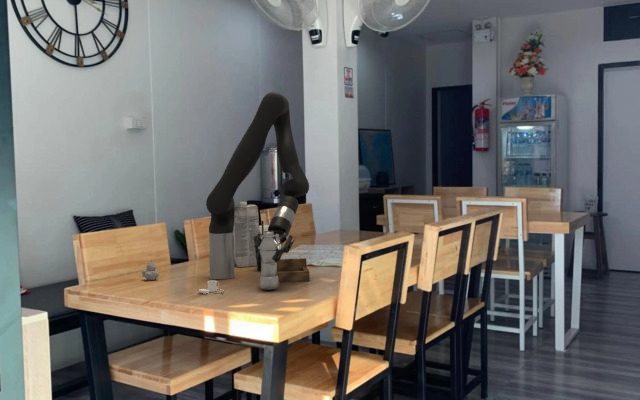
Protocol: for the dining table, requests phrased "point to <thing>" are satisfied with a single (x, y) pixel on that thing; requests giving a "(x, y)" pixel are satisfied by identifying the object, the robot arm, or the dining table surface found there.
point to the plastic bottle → (268, 261)
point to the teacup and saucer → (210, 287)
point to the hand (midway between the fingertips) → (266, 260)
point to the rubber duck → (150, 272)
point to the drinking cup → (256, 250)
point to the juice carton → (245, 234)
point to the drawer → (292, 270)
